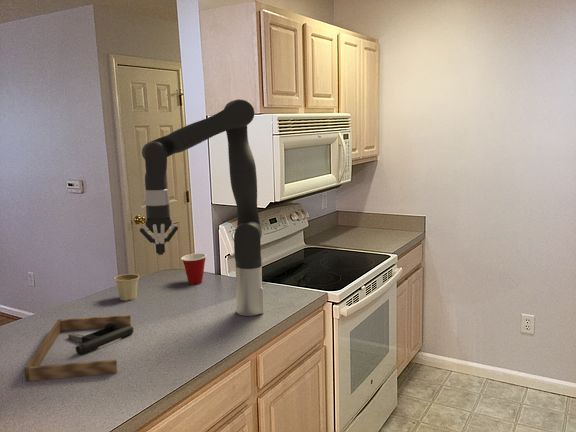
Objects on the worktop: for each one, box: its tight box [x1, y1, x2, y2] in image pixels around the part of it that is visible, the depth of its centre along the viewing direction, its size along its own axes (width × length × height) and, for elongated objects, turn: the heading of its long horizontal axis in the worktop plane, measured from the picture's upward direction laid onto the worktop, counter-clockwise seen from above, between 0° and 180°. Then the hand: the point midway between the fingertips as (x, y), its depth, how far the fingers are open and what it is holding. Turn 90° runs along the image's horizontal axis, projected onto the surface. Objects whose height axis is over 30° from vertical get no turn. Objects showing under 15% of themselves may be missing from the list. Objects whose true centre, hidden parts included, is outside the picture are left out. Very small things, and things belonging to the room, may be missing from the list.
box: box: [24, 314, 132, 382], centre depth 154 cm, size 23×36×4 cm, turn 11°
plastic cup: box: [181, 252, 207, 285], centre depth 220 cm, size 11×11×12 cm
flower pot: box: [114, 273, 140, 301], centre depth 200 cm, size 9×9×9 cm
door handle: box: [68, 323, 134, 355], centre depth 161 cm, size 3×20×16 cm
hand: (160, 254), depth 170 cm, fingers closed
